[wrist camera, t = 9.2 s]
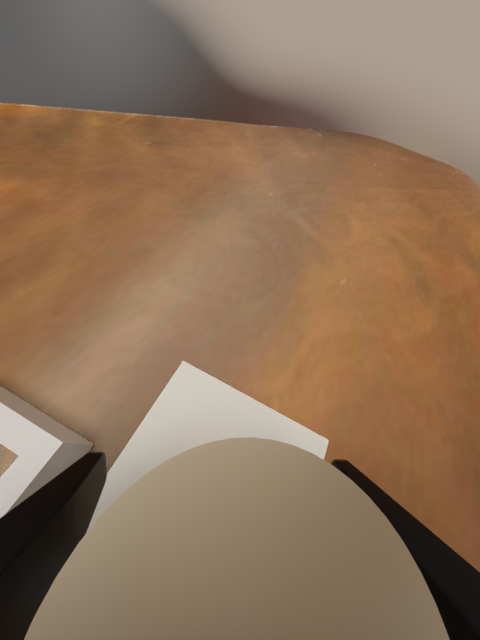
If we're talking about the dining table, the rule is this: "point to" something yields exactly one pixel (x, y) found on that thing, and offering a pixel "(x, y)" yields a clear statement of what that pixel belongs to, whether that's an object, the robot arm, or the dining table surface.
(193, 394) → the mat
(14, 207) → the dining table surface
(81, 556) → the beige cylinder
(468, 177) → the dining table surface
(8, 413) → the pale green box
